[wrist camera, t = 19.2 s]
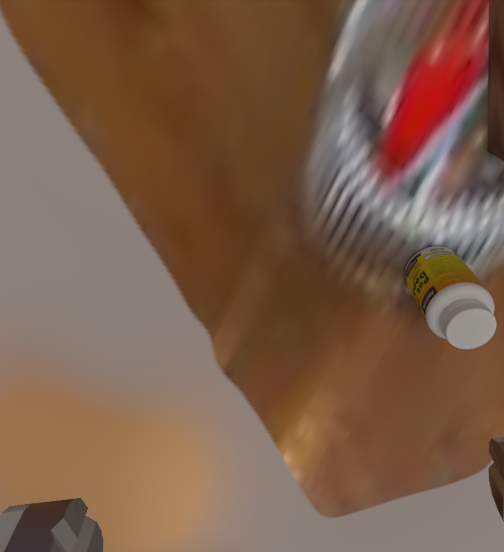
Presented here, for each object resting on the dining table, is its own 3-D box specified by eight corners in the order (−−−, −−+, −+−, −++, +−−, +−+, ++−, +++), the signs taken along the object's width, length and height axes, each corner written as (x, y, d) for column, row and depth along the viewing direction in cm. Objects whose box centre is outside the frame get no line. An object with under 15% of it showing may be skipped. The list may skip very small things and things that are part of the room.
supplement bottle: (404, 245, 45) (440, 301, 36) (464, 242, 45) (514, 298, 36) (400, 295, 48) (432, 359, 39) (456, 292, 48) (501, 356, 39)
